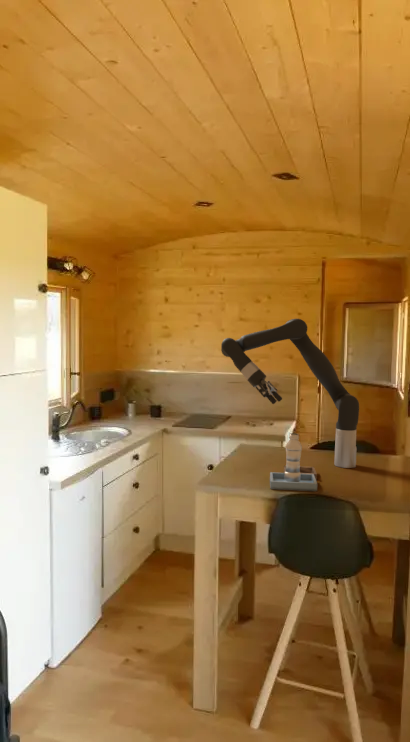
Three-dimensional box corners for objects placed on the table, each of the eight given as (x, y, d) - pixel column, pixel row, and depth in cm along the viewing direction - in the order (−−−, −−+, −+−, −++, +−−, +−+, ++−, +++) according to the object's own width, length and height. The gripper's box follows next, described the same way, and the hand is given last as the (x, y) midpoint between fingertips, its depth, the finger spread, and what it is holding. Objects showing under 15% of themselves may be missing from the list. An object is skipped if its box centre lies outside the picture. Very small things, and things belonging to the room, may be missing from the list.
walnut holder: (313, 472, 247) (314, 467, 246) (316, 480, 235) (316, 474, 235) (283, 471, 248) (284, 465, 248) (285, 478, 236) (285, 472, 236)
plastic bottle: (280, 481, 229) (282, 433, 227) (295, 480, 231) (297, 432, 229) (289, 485, 223) (291, 436, 221) (303, 484, 225) (305, 435, 224)
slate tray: (313, 481, 233) (313, 474, 233) (317, 491, 219) (317, 483, 219) (269, 479, 235) (270, 472, 234) (270, 489, 221) (270, 481, 220)
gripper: (253, 369, 241) (279, 397, 237) (264, 367, 254) (288, 394, 250) (242, 381, 244) (267, 409, 240) (252, 378, 257) (276, 405, 253)
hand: (278, 401), depth 245 cm, fingers open, 8 cm apart
